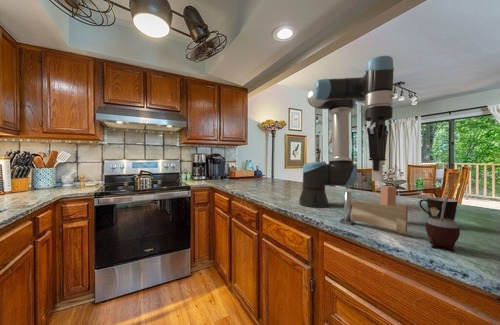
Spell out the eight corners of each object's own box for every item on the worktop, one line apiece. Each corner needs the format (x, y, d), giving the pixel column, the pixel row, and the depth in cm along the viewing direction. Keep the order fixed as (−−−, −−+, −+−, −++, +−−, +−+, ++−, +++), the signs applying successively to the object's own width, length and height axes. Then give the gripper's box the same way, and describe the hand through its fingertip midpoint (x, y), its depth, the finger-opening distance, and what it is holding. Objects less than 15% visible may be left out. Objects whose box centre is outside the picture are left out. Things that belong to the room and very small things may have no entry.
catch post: (387, 222, 81) (387, 187, 81) (380, 220, 85) (380, 185, 85) (395, 222, 82) (395, 187, 82) (387, 219, 85) (388, 185, 85)
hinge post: (344, 220, 84) (344, 190, 84) (354, 222, 81) (355, 192, 81) (339, 222, 81) (340, 191, 81) (350, 224, 78) (351, 193, 78)
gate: (353, 220, 80) (354, 197, 80) (407, 232, 68) (407, 204, 68) (351, 221, 79) (351, 198, 78) (405, 234, 66) (406, 205, 66)
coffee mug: (463, 230, 73) (464, 202, 73) (435, 228, 75) (436, 201, 75) (440, 220, 85) (441, 196, 85) (416, 219, 86) (417, 195, 86)
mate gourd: (439, 241, 63) (440, 192, 62) (470, 253, 55) (471, 197, 55) (417, 243, 62) (418, 192, 61) (446, 255, 54) (447, 197, 54)
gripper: (385, 101, 59) (384, 183, 60) (397, 109, 68) (396, 180, 68) (358, 106, 65) (356, 181, 65) (372, 112, 74) (371, 178, 74)
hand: (377, 180), depth 67 cm, fingers closed
